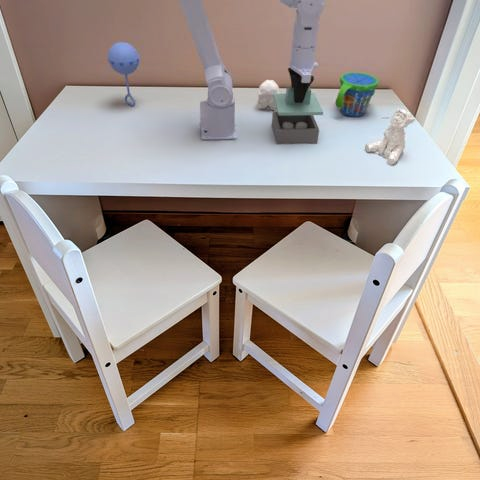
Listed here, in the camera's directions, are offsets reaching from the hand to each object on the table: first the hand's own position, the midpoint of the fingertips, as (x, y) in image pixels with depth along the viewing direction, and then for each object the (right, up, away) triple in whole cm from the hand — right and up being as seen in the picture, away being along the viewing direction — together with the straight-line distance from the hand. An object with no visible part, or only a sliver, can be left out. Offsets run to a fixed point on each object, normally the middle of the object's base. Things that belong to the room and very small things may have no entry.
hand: (297, 99), depth 106 cm
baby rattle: (-48, +4, +18) cm, 52 cm away
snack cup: (+19, +2, +17) cm, 26 cm away
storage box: (0, -7, +7) cm, 10 cm away
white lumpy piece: (-6, +5, +20) cm, 22 cm away
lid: (0, -2, +1) cm, 2 cm away
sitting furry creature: (+23, -14, 0) cm, 27 cm away
